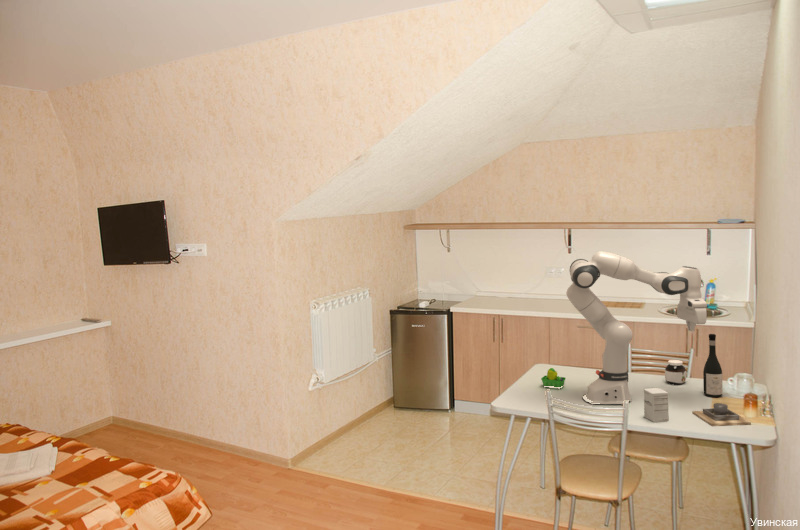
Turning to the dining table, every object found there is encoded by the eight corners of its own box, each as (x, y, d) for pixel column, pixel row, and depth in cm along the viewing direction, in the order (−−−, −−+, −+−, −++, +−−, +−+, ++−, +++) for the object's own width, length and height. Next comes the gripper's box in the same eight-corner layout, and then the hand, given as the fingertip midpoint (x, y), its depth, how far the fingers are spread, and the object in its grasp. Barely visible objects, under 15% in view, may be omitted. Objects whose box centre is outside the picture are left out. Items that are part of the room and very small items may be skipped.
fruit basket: (566, 386, 296) (565, 365, 295) (561, 391, 289) (560, 369, 288) (545, 384, 302) (544, 364, 301) (540, 388, 295) (539, 367, 294)
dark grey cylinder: (717, 418, 236) (717, 407, 235) (711, 414, 241) (711, 403, 241) (730, 418, 236) (730, 406, 235) (723, 414, 241) (723, 402, 241)
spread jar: (674, 386, 287) (674, 364, 287) (657, 381, 298) (656, 360, 297) (691, 383, 292) (691, 361, 292) (673, 378, 303) (672, 357, 302)
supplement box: (643, 416, 245) (643, 388, 244) (659, 415, 246) (659, 387, 245) (652, 422, 238) (652, 393, 237) (669, 421, 238) (668, 392, 238)
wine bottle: (725, 398, 265) (724, 335, 263) (706, 397, 267) (706, 335, 265) (719, 393, 273) (718, 332, 271) (701, 392, 275) (700, 332, 273)
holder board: (711, 426, 230) (711, 419, 230) (692, 413, 246) (692, 406, 246) (751, 424, 230) (750, 417, 230) (728, 412, 246) (728, 405, 246)
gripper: (673, 298, 268) (673, 327, 269) (694, 304, 247) (695, 335, 248) (686, 298, 268) (686, 326, 269) (709, 303, 247) (709, 334, 248)
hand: (691, 330), depth 258 cm, fingers closed
